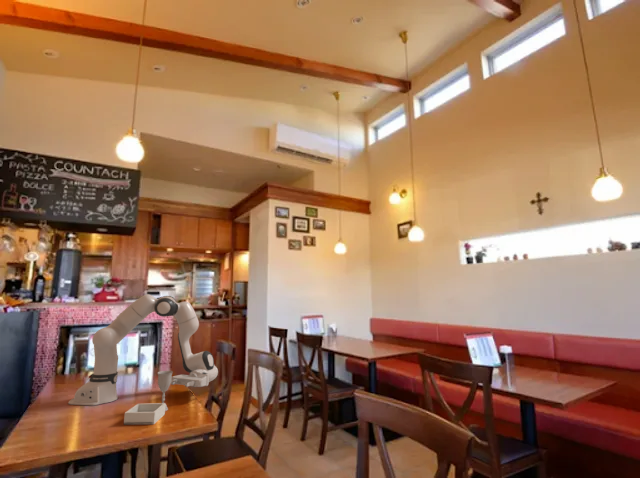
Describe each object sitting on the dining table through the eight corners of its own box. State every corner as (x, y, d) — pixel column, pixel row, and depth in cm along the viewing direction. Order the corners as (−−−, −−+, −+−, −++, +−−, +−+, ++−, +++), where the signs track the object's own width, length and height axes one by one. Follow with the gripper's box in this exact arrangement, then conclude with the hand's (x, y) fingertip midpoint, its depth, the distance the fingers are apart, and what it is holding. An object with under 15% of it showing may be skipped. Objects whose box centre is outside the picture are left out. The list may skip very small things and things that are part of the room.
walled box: (123, 424, 153) (124, 412, 154) (137, 414, 166) (138, 403, 167) (153, 424, 154) (154, 412, 155) (164, 414, 167) (165, 403, 167)
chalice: (154, 413, 168) (157, 374, 171) (154, 408, 174) (157, 371, 177) (170, 410, 172) (173, 372, 174) (169, 406, 178) (172, 370, 180)
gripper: (182, 370, 201) (164, 375, 188) (211, 374, 194) (194, 379, 181) (181, 382, 200) (163, 388, 187) (210, 385, 193) (193, 392, 180)
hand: (178, 384), depth 184 cm, fingers open, 8 cm apart
